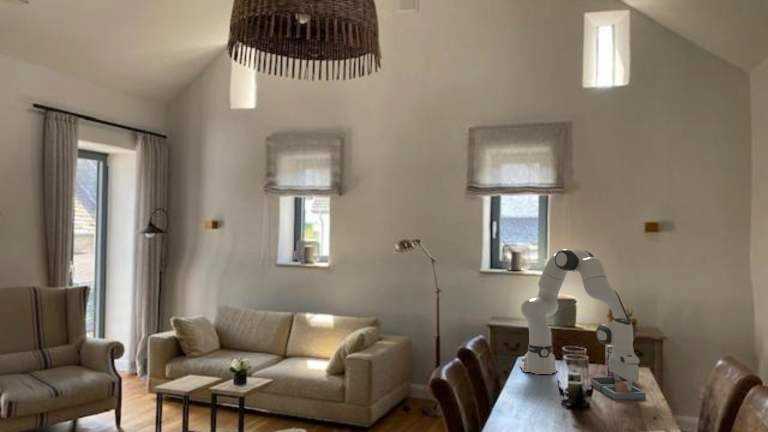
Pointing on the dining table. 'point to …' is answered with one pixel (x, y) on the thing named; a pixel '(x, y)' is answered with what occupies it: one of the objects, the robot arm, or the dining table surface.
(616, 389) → the terracotta block
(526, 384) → the dining table surface
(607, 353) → the candy bar box
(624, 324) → the robot arm
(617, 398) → the slate tray
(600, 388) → the charcoal bin
